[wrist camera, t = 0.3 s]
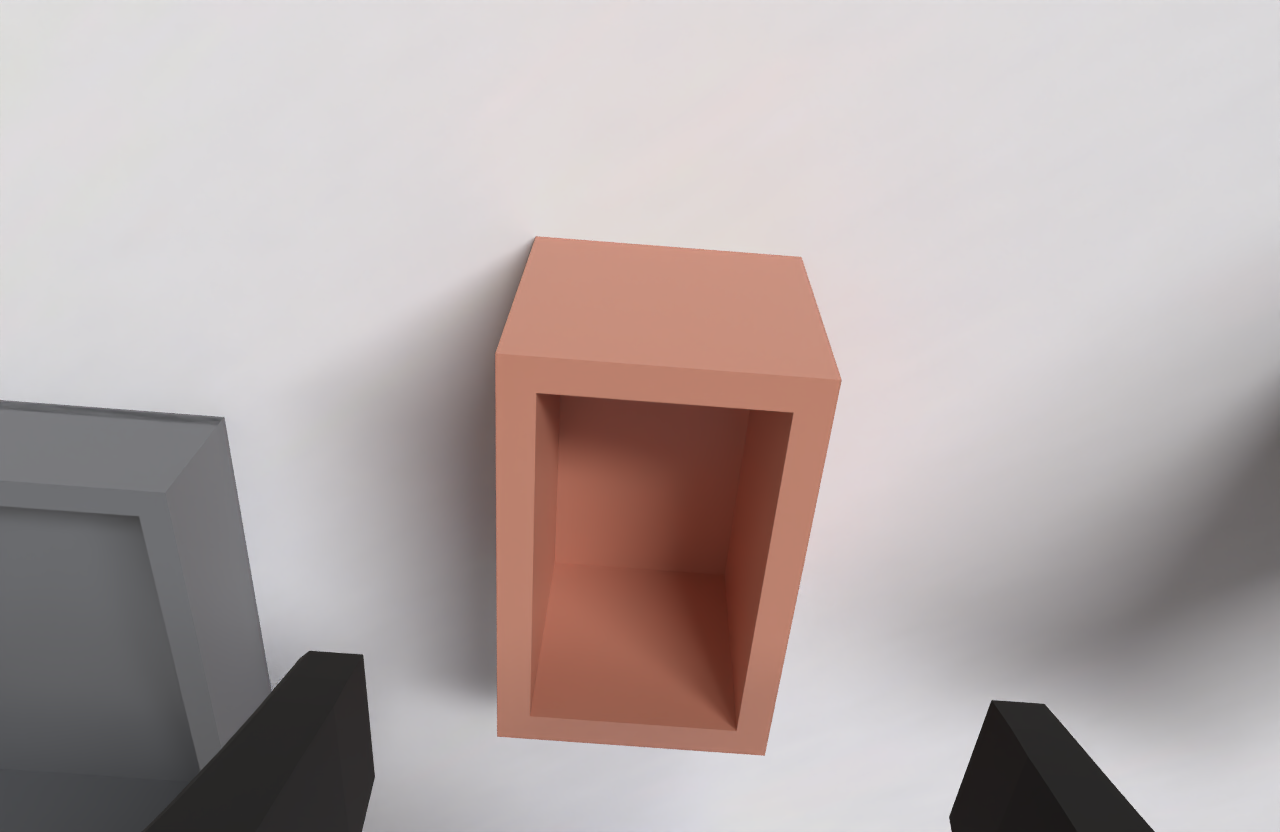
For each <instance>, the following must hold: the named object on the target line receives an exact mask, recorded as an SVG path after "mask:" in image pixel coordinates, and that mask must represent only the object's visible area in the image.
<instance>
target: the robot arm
mask: <svg viewBox="0 0 1280 832" xmlns="http://www.w3.org/2000/svg"><path fill="white" fill-rule="evenodd" d="M374 778H375V773H374V763H373V753H372V742H371V732H370V722H369V711H368V701H367V690H366V680H365V670H364V659H363V655H360V654H346V653H332V652H318V651H309V652H307V653H306V654H305V655H303V656H302V657H301V658H300V659H299V660H298V661H297V662H296V664H295V665H294V666H293V667H292V668H291V670H290V671H289V672H288V673H287V674H286V675H285V677H284V678H283V679H282V680H281V681H280V683H279V684H278V685H277V686H276V687H275V688H274V690H273V691H272V692H271V693H270V694H269V695H268V697H267V698H266V699H265V700H264V701H263V702H262V704H261V705H260V706H259V707H258V708H257V709H256V710H255V712H254V713H253V714H252V715H251V716H250V717H249V718H248V720H247V721H246V722H245V723H244V724H243V725H242V726H241V727H240V728H239V730H238V731H237V732H236V733H235V734H234V735H233V736H232V737H231V739H230V740H229V741H228V742H227V743H226V744H225V745H224V746H223V747H222V749H221V750H220V751H219V752H218V753H217V754H216V755H215V756H214V757H213V758H212V759H211V760H210V761H209V762H208V764H207V765H206V766H205V767H204V768H203V769H202V770H201V771H200V772H199V773H198V774H197V775H196V776H195V777H194V778H193V779H192V781H191V782H190V783H189V784H188V785H187V786H186V787H185V788H184V789H183V790H182V791H181V792H180V793H179V794H178V795H177V796H176V798H175V799H174V800H173V801H172V802H171V803H170V804H169V805H168V806H167V807H166V808H165V809H164V810H163V811H162V812H161V813H160V814H159V815H158V816H157V817H156V818H155V819H154V820H153V821H152V822H151V823H150V824H149V825H148V826H147V827H146V828H145V829H144V830H143V831H142V832H362V828H363V824H364V820H365V816H366V812H367V808H368V803H369V799H370V795H371V791H372V786H373V782H374ZM949 819H950V824H951V830H952V832H1154V830H1153V829H1152V828H1151V827H1150V826H1149V825H1148V824H1147V823H1146V821H1145V820H1144V819H1143V818H1142V817H1141V816H1140V815H1139V813H1138V812H1137V811H1136V810H1135V809H1134V808H1133V806H1132V805H1131V804H1130V803H1129V802H1128V801H1127V800H1126V798H1125V797H1124V796H1123V795H1122V794H1121V793H1120V791H1119V790H1118V789H1117V788H1116V787H1115V786H1114V784H1113V783H1112V782H1111V781H1110V780H1109V779H1108V777H1107V776H1106V775H1105V774H1104V773H1103V772H1102V770H1101V769H1100V768H1099V767H1098V766H1097V765H1096V763H1095V762H1094V761H1093V760H1092V759H1091V757H1090V756H1089V755H1088V754H1087V753H1086V752H1085V750H1084V749H1083V748H1082V747H1081V746H1080V745H1079V743H1078V742H1077V741H1076V740H1075V739H1074V738H1073V736H1072V735H1071V734H1070V733H1069V732H1068V730H1067V729H1066V728H1065V727H1064V726H1063V725H1062V723H1061V722H1060V721H1059V720H1058V719H1057V718H1056V717H1055V715H1054V714H1053V713H1052V712H1051V711H1050V710H1049V709H1048V707H1047V706H1046V705H1045V704H1038V703H1024V702H1010V701H996V700H992V701H991V703H990V706H989V709H988V712H987V714H986V717H985V720H984V723H983V725H982V728H981V731H980V734H979V736H978V739H977V742H976V745H975V747H974V750H973V753H972V756H971V758H970V761H969V764H968V767H967V769H966V772H965V775H964V778H963V780H962V783H961V786H960V789H959V791H958V794H957V797H956V800H955V802H954V805H953V808H952V811H951V813H950V816H949Z"/></svg>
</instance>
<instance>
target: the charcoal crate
mask: <svg viewBox="0 0 1280 832" xmlns="http://www.w3.org/2000/svg"><path fill="white" fill-rule="evenodd" d="M270 693H271V686H270V680H269V674H268V668H267V663H266V657H265V651H264V645H263V639H262V634H261V628H260V622H259V616H258V610H257V604H256V599H255V593H254V587H253V581H252V575H251V570H250V564H249V558H248V552H247V546H246V541H245V535H244V529H243V523H242V517H241V511H240V506H239V500H238V494H237V488H236V482H235V477H234V471H233V465H232V459H231V453H230V448H229V442H228V436H227V430H226V424H225V418H224V417H215V416H202V415H189V414H175V413H162V412H149V411H136V410H123V409H110V408H97V407H83V406H70V405H57V404H44V403H31V402H18V401H4V400H0V832H142V831H143V830H144V829H145V828H146V827H147V826H148V825H149V824H150V823H151V822H152V821H153V820H154V819H155V818H156V817H157V816H158V815H159V814H160V813H161V812H162V811H163V810H164V809H165V808H166V807H167V806H168V805H169V804H170V803H171V802H172V801H173V800H174V799H175V798H176V796H177V795H178V794H179V793H180V792H181V791H182V790H183V789H184V788H185V787H186V786H187V785H188V784H189V783H190V782H191V781H192V779H193V778H194V777H195V776H196V775H197V774H198V773H199V772H200V771H201V770H202V769H203V768H204V767H205V766H206V765H207V764H208V762H209V761H210V760H211V759H212V758H213V757H214V756H215V755H216V754H217V753H218V752H219V751H220V750H221V749H222V747H223V746H224V745H225V744H226V743H227V742H228V741H229V740H230V739H231V737H232V736H233V735H234V734H235V733H236V732H237V731H238V730H239V728H240V727H241V726H242V725H243V724H244V723H245V722H246V721H247V720H248V718H249V717H250V716H251V715H252V714H253V713H254V712H255V710H256V709H257V708H258V707H259V706H260V705H261V704H262V702H263V701H264V700H265V699H266V698H267V697H268V695H269V694H270Z"/></svg>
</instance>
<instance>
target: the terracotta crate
mask: <svg viewBox="0 0 1280 832" xmlns="http://www.w3.org/2000/svg"><path fill="white" fill-rule="evenodd" d="M840 385H841V377H840V374H839V371H838V368H837V365H836V362H835V359H834V355H833V352H832V349H831V346H830V343H829V340H828V337H827V334H826V331H825V328H824V325H823V322H822V319H821V316H820V313H819V310H818V307H817V303H816V300H815V297H814V294H813V291H812V288H811V285H810V282H809V279H808V276H807V273H806V270H805V267H804V264H803V261H802V258H801V257H794V256H781V255H768V254H756V253H743V252H730V251H717V250H704V249H691V248H678V247H666V246H653V245H640V244H627V243H614V242H601V241H588V240H576V239H563V238H550V237H537V236H536V238H535V241H534V243H533V246H532V249H531V252H530V255H529V258H528V261H527V264H526V266H525V269H524V272H523V275H522V278H521V281H520V284H519V287H518V289H517V292H516V295H515V298H514V301H513V304H512V307H511V310H510V313H509V315H508V318H507V321H506V324H505V327H504V330H503V333H502V336H501V338H500V341H499V344H498V347H497V350H496V353H495V394H496V583H497V737H511V738H525V739H539V740H553V741H568V742H582V743H596V744H610V745H624V746H638V747H652V748H666V749H680V750H694V751H708V752H723V753H737V754H751V755H765V751H766V746H767V741H768V737H769V732H770V727H771V722H772V717H773V712H774V707H775V702H776V697H777V693H778V688H779V683H780V678H781V673H782V668H783V663H784V658H785V654H786V649H787V644H788V639H789V634H790V629H791V624H792V619H793V614H794V610H795V605H796V600H797V595H798V590H799V585H800V580H801V575H802V571H803V566H804V561H805V556H806V551H807V546H808V541H809V536H810V531H811V527H812V522H813V517H814V512H815V507H816V502H817V497H818V492H819V487H820V483H821V478H822V473H823V468H824V463H825V458H826V453H827V448H828V444H829V439H830V434H831V429H832V424H833V419H834V414H835V409H836V404H837V400H838V395H839V390H840Z"/></svg>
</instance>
